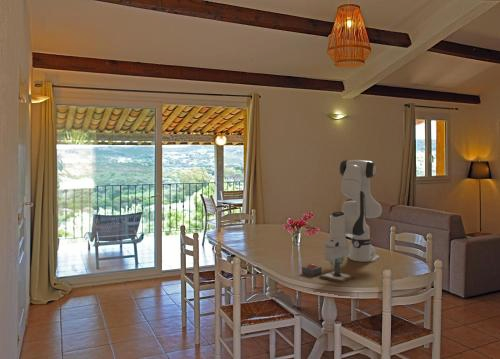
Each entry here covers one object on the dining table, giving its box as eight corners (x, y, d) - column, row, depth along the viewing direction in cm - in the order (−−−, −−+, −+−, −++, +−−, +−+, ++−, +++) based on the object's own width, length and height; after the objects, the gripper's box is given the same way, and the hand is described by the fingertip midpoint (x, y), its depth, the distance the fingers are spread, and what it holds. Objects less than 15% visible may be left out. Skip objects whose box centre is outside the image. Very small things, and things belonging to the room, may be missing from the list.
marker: (336, 273, 243) (336, 256, 242) (341, 275, 241) (341, 257, 240) (332, 275, 240) (333, 257, 240) (338, 276, 238) (338, 258, 238)
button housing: (310, 271, 254) (310, 264, 254) (321, 273, 249) (321, 266, 249) (302, 273, 248) (302, 266, 248) (313, 276, 243) (313, 269, 243)
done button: (310, 268, 251) (311, 263, 251) (316, 269, 249) (316, 264, 248) (306, 269, 248) (307, 264, 248) (312, 270, 246) (312, 265, 245)
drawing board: (332, 272, 250) (332, 270, 250) (354, 277, 241) (354, 275, 241) (319, 277, 240) (319, 275, 240) (341, 283, 231) (341, 280, 231)
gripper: (342, 237, 249) (341, 261, 250) (322, 243, 234) (322, 268, 235) (352, 239, 245) (351, 263, 246) (332, 244, 230) (332, 270, 231)
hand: (337, 265), depth 240 cm, fingers open, 8 cm apart
